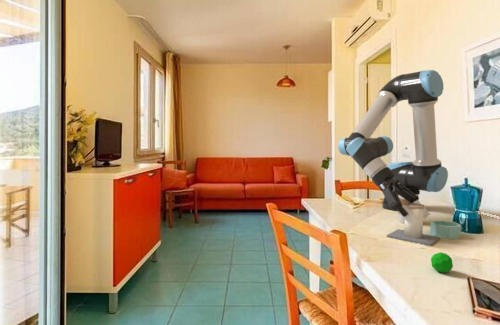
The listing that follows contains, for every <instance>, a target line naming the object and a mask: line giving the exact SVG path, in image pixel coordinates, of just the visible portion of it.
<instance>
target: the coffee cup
mask: <svg viewBox="0 0 500 325" xmlns="http://www.w3.org/2000/svg"><path fill="white" fill-rule="evenodd" d="M405 187H406V188H408V189H409V190H410V191H411V192H413V193H414V194H415V195H416V196H418V197H419V195H420V194H421V190H419V187H418V186H405ZM398 196H399V199H400V201H401V203H402V206H403V205H405V204H406V203H410V202H409V201H407V200H406V199H404V198H403V197H401V196H400V195H398ZM419 199H420V198H419ZM419 199H418V201H419ZM398 222H399V223H400V224H404V225H405V219H404V217H403V216H402V215H401V214H400V213H399V212H398Z"/></svg>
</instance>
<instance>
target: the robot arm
mask: <svg viewBox="0 0 500 325" xmlns="http://www.w3.org/2000/svg"><path fill="white" fill-rule="evenodd" d="M443 92H444V81H443V78H442V76H441V75H440V74H439V72H438V71H436V70H434V69H430V70H429V69H427V70H421V71H415V72H410V73H404V74H399V75H397V76H395V77H393V78H392V79H390V80H389V81H388V82H387V83H386V84H384V86H383V87H382V88H381V89H380V90H379V91H378V92H377V94H376V99H375V101H374V102H373V103H372V104H371V106H370V107H369V109H368V110H367V112H366V113H365V115H363V117H362V118H361V120H360V122H359V123H358V124H357V125H356V127H355V128H354V130H352V132H351V134H350V135H349V136H348V137H344V138H341V139H340V140H339V142H338V144H337V147H338V148H337V149H338V152H339V153H340V154H341V155H344V156H349V157H351V158H352V159H353V160H354V162H355V163H357V165H358V166H359V167H360V169H362V171H363V172H364V174H365V176H368V177H369V178H370V179H371V181H372V182H373V183H374V185H375V186H376V187H378V189H380V191H381V192H382V194H383V196H384V198H383V200H382V203H381V205H382V209H386V210H390V211H394V212H396V211H397V212H398V214H399V213H400V214H401V215H402V216H403V217H404V219H405V220H406V221H407V222H408V223H409V224H410V226H412V225H413V224H415V223H416V222H418V220H417V219H416V218H415V217H414V216H413V214H412V213H411V212H410V211H409V210H408V209H407V208H406V207H405V205H403V206H402V203H401V201H400V199H399V196H398V195H400V196H401V197H403V198H404V199H406V200H407V201H409V202H410V203H416V204H422V203H421V202H420V201H419V200H418V199H420V197H419V196H416V195H415V194H414V193H413V192H411V191H410V190H409V189H408V188H406V187H405V186H418V187H419V190H420V191H422V192H423V191H425V192H428V193H431V192H433V193H438V192H441V191H442V190H443V189H444V188H445V186H446V185H447V183H448V182H447V181H448V178H449V177H448V176H449V172H448V169H447V168H446V167H445V166H442V161H441V160H440V159H439V158H438V149H437V148H438V146H437V131H436V113H435V104H437V102H439V97H441V96H442V95H443V94H444V93H443ZM402 101H407V105H408V106H410V107H411V109H412V122H413V138H414V149H415V150H414V151H415V160H414V161H404V162H403V161H402V162H399V161H398V162H390V163H389V164H388V165H387V164H386V163H385V161H384V160H382V158H381V157H384V156H387V155H388V154H391V152H392V151H393V150H394V142H393V140H392V139H391V138H390V137H388V136H385V135H383V136H378V137H374V138H373V137H372V135H373V134H374V133H375V132H376V130H377V128H378V127H379V125H380V124H381V123H382V121H383V120H384V118H385V117H386V115H387V114H388V113H389V112H390V110H391V109H392V108H393V107H396V106H397V104H398V103H399V102H402ZM429 216H431V213H430V211H428V210H427V209H426V207H424V209H423V220H425V219H427V218H428V217H429Z"/></svg>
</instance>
